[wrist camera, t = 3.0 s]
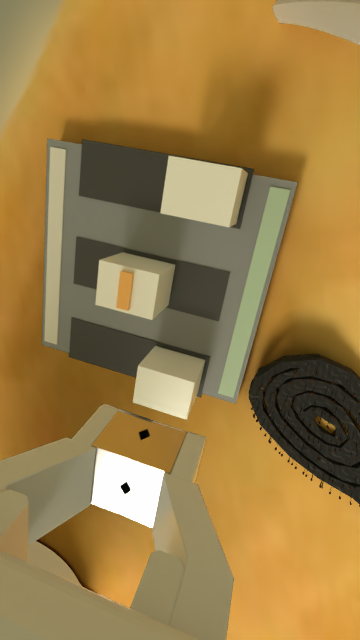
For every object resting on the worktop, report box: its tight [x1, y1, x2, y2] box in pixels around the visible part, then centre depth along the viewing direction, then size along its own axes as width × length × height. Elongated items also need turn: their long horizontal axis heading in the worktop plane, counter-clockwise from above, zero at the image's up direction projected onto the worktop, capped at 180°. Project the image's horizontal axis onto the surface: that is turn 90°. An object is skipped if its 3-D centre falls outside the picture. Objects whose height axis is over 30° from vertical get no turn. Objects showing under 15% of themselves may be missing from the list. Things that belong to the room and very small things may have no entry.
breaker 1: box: [160, 156, 248, 227], centre depth 20 cm, size 3×4×4 cm
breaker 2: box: [95, 252, 175, 320], centre depth 23 cm, size 3×4×4 cm
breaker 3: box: [133, 346, 205, 420], centre depth 25 cm, size 3×4×4 cm
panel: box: [42, 138, 298, 404], centre depth 26 cm, size 17×17×2 cm
